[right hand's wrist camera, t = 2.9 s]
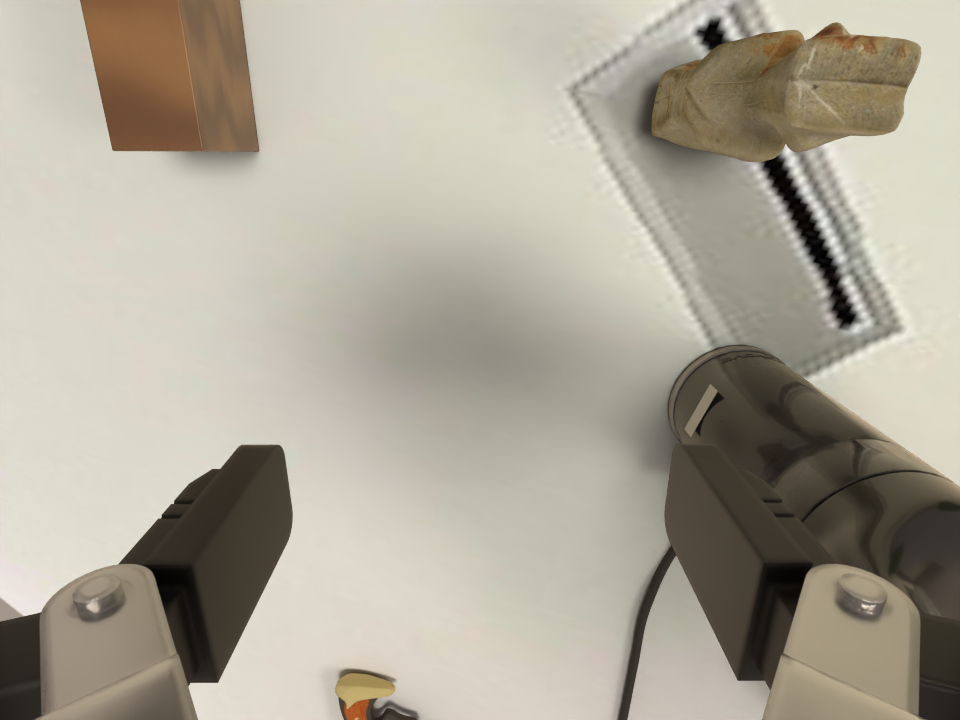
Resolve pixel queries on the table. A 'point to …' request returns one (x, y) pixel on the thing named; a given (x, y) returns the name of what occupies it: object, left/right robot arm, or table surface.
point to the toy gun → (364, 697)
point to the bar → (172, 74)
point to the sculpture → (785, 93)
